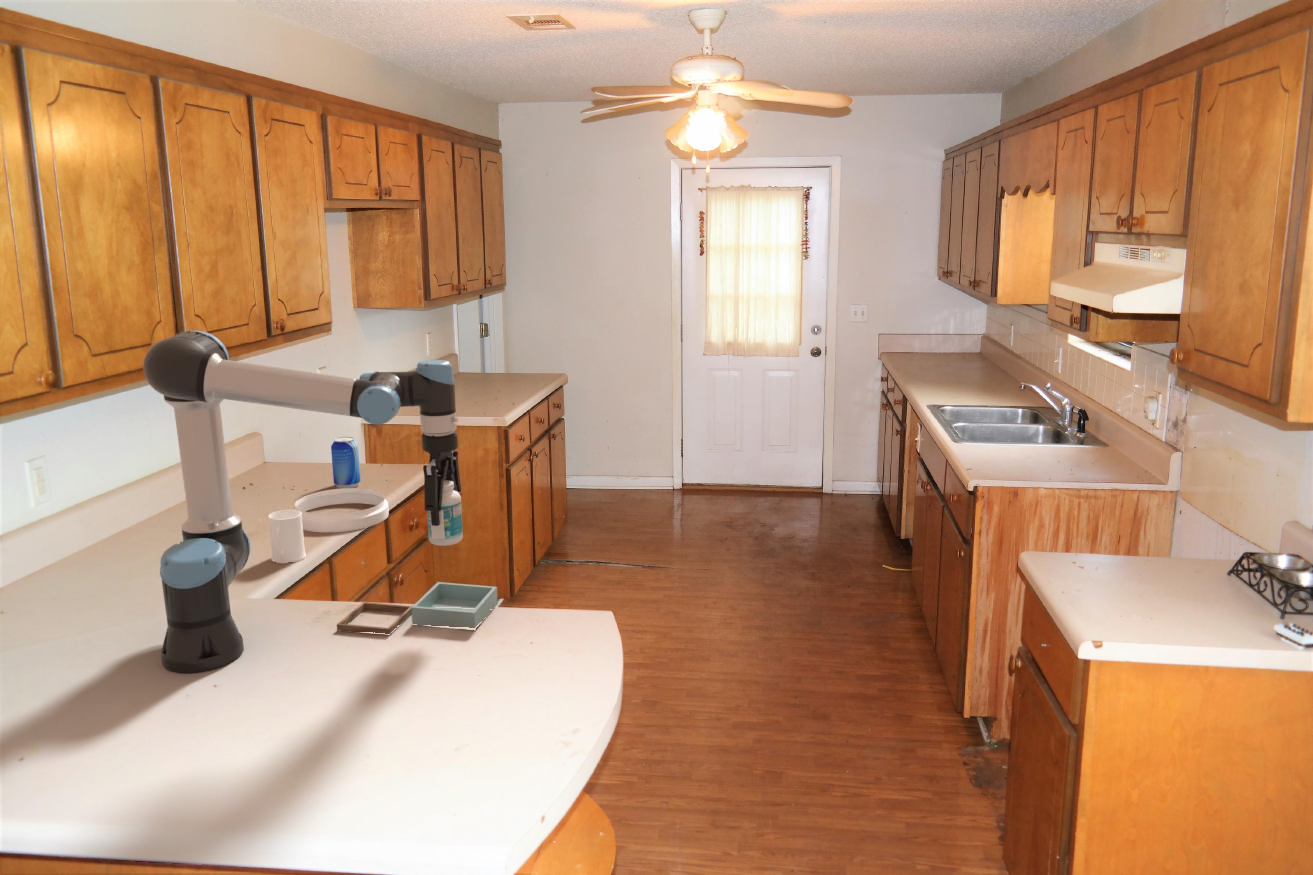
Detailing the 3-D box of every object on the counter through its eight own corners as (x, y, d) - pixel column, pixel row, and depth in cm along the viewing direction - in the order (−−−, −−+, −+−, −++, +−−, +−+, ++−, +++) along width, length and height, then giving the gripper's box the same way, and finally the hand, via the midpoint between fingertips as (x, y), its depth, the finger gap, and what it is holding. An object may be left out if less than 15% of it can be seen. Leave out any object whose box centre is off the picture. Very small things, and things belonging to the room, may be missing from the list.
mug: (291, 569, 236) (287, 524, 233) (259, 567, 236) (254, 523, 233) (311, 552, 247) (308, 509, 244) (280, 551, 248) (276, 508, 245)
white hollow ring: (335, 539, 258) (333, 521, 256) (273, 521, 272) (272, 504, 270) (408, 514, 280) (407, 496, 279) (347, 498, 294) (346, 482, 293)
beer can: (329, 488, 303) (325, 441, 300) (341, 481, 311) (338, 435, 308) (353, 490, 302) (349, 442, 298) (365, 482, 310) (362, 436, 306)
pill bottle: (422, 544, 204) (418, 485, 200) (441, 533, 210) (437, 476, 207) (451, 548, 201) (447, 489, 198) (469, 537, 208) (466, 479, 205)
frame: (389, 635, 200) (389, 629, 199) (337, 630, 202) (336, 624, 201) (413, 612, 211) (413, 606, 211) (363, 607, 213) (363, 601, 213)
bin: (475, 630, 202) (474, 612, 201) (412, 625, 205) (411, 607, 204) (497, 603, 216) (497, 586, 215) (438, 598, 219) (437, 581, 218)
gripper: (436, 444, 190) (443, 549, 195) (472, 422, 209) (478, 518, 214) (402, 442, 191) (410, 547, 196) (441, 421, 210) (447, 516, 216)
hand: (445, 531), depth 205 cm, fingers closed on pill bottle, 7 cm apart
